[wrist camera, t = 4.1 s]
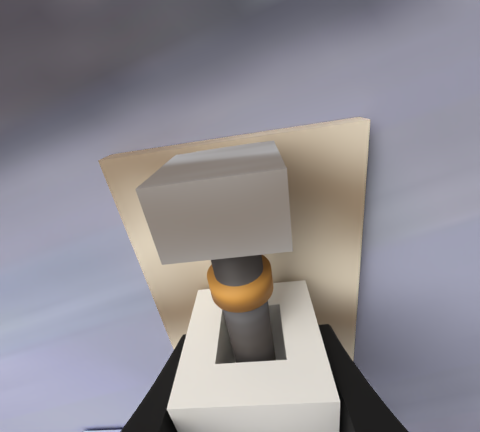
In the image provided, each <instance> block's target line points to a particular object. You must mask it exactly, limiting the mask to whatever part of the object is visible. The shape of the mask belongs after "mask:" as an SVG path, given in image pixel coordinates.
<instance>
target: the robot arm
mask: <svg viewBox="0 0 480 432" xmlns="http://www.w3.org/2000/svg"><path fill="white" fill-rule="evenodd" d="M318 326H319V330H320V333H321V336H322V340H323V343H324V347H325V350H326V354H327V357H328V361H329V364H330V368H331V371H332V374H333V378H334V381H335V385H336V388H337V392H338V395H339V399H340V425H339V432H408V431H407V430H406V428H405V427H404V426H403V425H402V424H401V423H400V422H399V420H398V419H397V418H396V417H395V416H394V414H393V413H392V412H391V411H390V410H389V408H388V407H387V406H386V405H385V404H384V402H383V401H382V400H381V398H380V397H379V396H378V395H377V393H376V392H375V391H374V390H373V388H372V387H371V386H370V384H369V383H368V382H367V380H366V379H365V378H364V376H363V375H362V373H361V372H360V371H359V369H358V368H357V366H356V365H355V364H354V362H353V361H352V359H351V358H350V356H349V355H348V353H347V352H346V350H345V349H344V347H343V346H342V344H341V342H340V341H339V339H338V337H337V336H336V334H335V332H334V331H333V329H332V327H331V326H330V325H329V324H322V325H318ZM185 338H186V334H183V335H182V337H181V338H180V340H179V342H178V344H177V346H176V347H175V349H174V351H173V353H172V354H171V356H170V358H169V359H168V361H167V363H166V365H165V366H164V368H163V370H162V371H161V373H160V374H159V376H158V378H157V379H156V381H155V382H154V384H153V386H152V387H151V389H150V390H149V392H148V393H147V395H146V396H145V398H144V399H143V401H142V402H141V404H140V405H139V406H138V408H137V409H136V411H135V412H134V414H133V415H132V416H131V418H130V419H129V421H128V422H127V423H126V425H125V426H124V427H123V429H119V430H91V431H83V432H178V431H177V429H176V427H175V425H174V423H173V421H172V419H171V417H170V415H169V413H168V411H167V406H168V402H169V398H170V394H171V391H172V387H173V383H174V379H175V376H176V372H177V368H178V364H179V360H180V357H181V353H182V349H183V345H184V341H185Z"/></svg>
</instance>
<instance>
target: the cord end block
mask: <svg viewBox="0 0 480 432" xmlns="http://www.w3.org/2000/svg"><path fill="white" fill-rule="evenodd" d="M268 305H269V312H270V320H271V327H272V334H273V341H274V349H275V356H276V360H274V361H258V362H241V363H236V361H235V356H234V352H233V348H232V344H231V340H230V336H229V332H228V328H227V324H226V320H225V316H224V312H223V309H221V308H219V307H218V306H217V305H216V304H215V303H214V301H213V299H212V295H211V291H210V289H203V290H198V292H197V296H196V300H195V304H194V307H193V311H192V315H191V319H190V323H189V326H188V330H187V334H186V338H185V341H184V345H183V349H182V353H181V357H180V360H179V364H178V368H177V372H176V376H175V379H174V383H173V387H172V391H171V394H170V398H169V402H168V406H167V411H168V413H169V415H170V417H171V419H172V421H173V423H174V425H175V427H176V429H177V431H178V432H339V425H340V399H339V395H338V392H337V388H336V385H335V381H334V378H333V374H332V371H331V368H330V364H329V361H328V357H327V354H326V350H325V347H324V343H323V340H322V336H321V333H320V330H319V326H318V323H317V319H316V316H315V312H314V309H313V305H312V302H311V298H310V295H309V291H308V288H307V285H306V281H305V280H302V281H291V282H280V283H273V292H272V295H271V297H270V298H269V299H268Z"/></svg>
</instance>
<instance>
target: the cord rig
mask: <svg viewBox="0 0 480 432" xmlns="http://www.w3.org/2000/svg"><path fill="white" fill-rule="evenodd" d="M369 131H370V119H366V118H361V117H355V118H349V119H342V120H336V121H329V122H323V123H316V124H309V125H303V126H296V127H290V128H283V129H277V130H270V131H263V132H257V133H250V134H244V135H237V136H231V137H224V138H217V139H211V140H204V141H198V142H191V143H185V144H178V145H171V146H165V147H158V148H152V149H145V150H139V151H132V152H125V153H119V154H112V155H109V156H107V157H105V158H103V159H101V160H98V161H99V164H100V166H101V169H102V171H103V174H104V176H105V179H106V181H107V184H108V186H109V189H110V191H111V194H112V196H113V199H114V201H115V204H116V206H117V209H118V211H119V214H120V216H121V219H122V221H123V224H124V226H125V229H126V231H127V234H128V236H129V239H130V241H131V244H132V246H133V249H134V251H135V254H136V256H137V259H138V261H139V264H140V266H141V269H142V271H143V274H144V276H145V279H146V281H147V284H148V286H149V289H150V291H151V294H152V296H153V299H154V301H155V304H156V306H157V309H158V311H159V314H160V316H161V319H162V321H163V324H164V326H165V329H166V331H167V334H168V336H169V339H170V341H171V344H172V346H173V349H175V347H176V346H177V344H178V342H179V340H180V338H181V337H182V335H183V334H187V330H188V326H189V323H190V319H191V315H192V311H193V307H194V304H195V300H196V296H197V292H198V290H203V289H210V291H211V295H212V299H213V301H214V303H215V304H216V305H217V306H218V307H219V308H221V309H223V312H224V316H225V320H226V324H227V328H228V332H229V336H230V340H231V344H232V348H233V352H234V356H235V361H236V363H241V362H258V361H274V360H276V356H275V349H274V341H273V334H272V327H271V320H270V312H269V305H268V299H269V298H270V297H271V295H272V292H273V283H280V282H291V281H302V280H305V281H306V285H307V288H308V291H309V295H310V298H311V302H312V305H313V309H314V312H315V316H316V319H317V323H318V325H322V324H329V325H330V326H331V327H332V329H333V331H334V332H335V334H336V336H337V337H338V339H339V341H340V342H341V344H342V346H343V347H344V349H345V350H346V352H347V353H348V355H349V356H350V358H351V359H352V361H353V360H354V346H355V331H356V317H357V303H358V289H359V274H360V260H361V246H362V231H363V217H364V203H365V189H366V174H367V160H368V146H369Z"/></svg>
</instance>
